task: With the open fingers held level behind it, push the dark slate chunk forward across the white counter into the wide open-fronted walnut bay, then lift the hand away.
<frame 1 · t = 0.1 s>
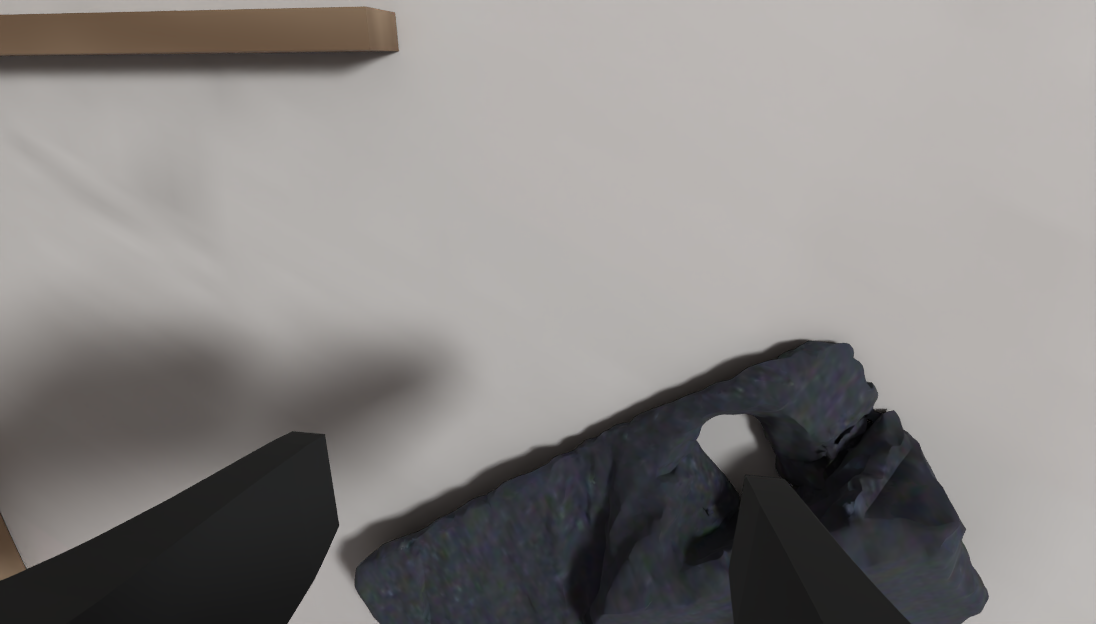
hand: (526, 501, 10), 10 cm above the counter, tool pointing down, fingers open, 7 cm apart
walnut bay: (204, 527, 26), on the counter
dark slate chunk: (641, 559, 24), on the counter
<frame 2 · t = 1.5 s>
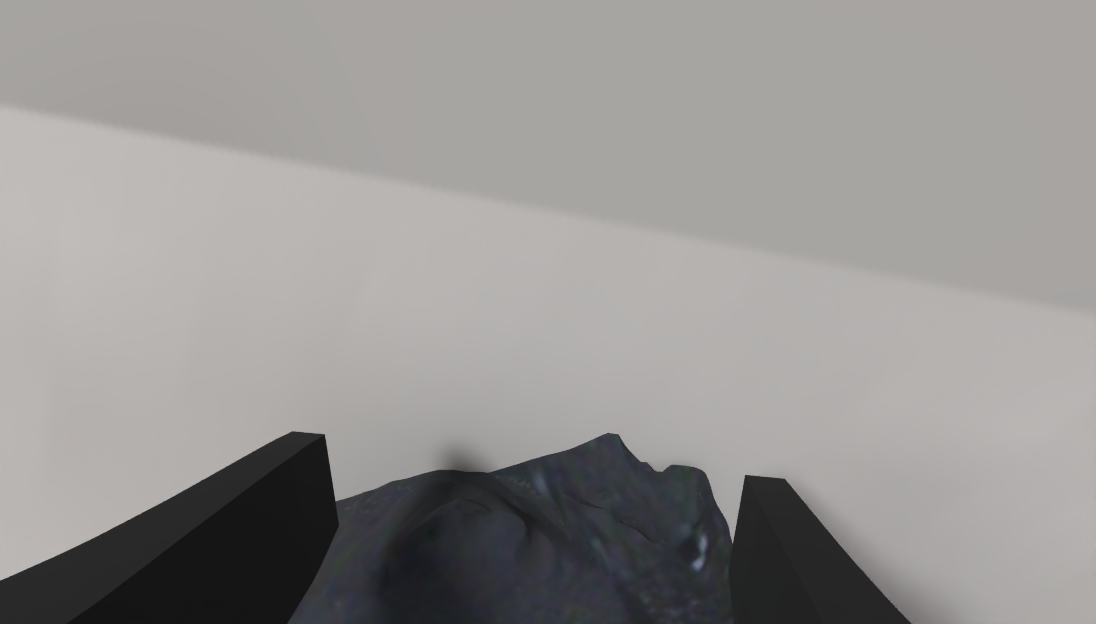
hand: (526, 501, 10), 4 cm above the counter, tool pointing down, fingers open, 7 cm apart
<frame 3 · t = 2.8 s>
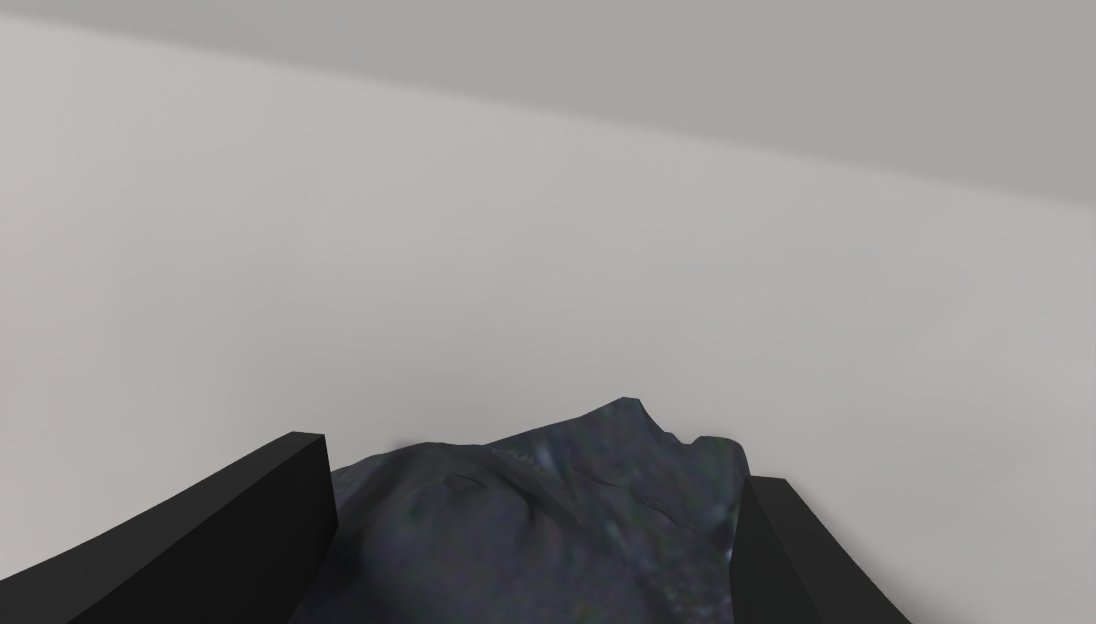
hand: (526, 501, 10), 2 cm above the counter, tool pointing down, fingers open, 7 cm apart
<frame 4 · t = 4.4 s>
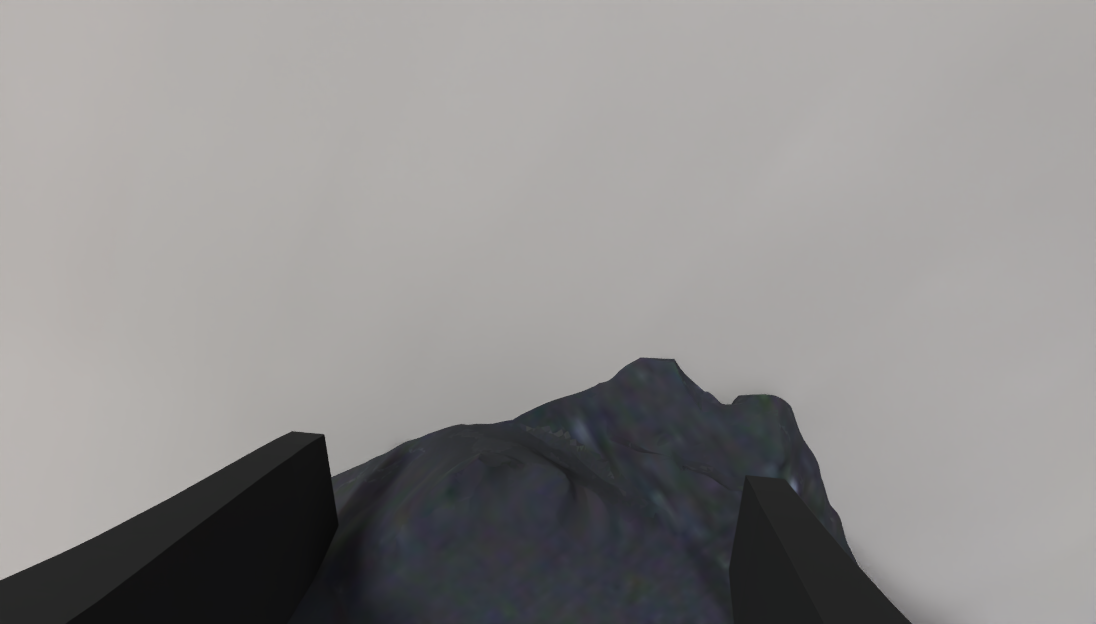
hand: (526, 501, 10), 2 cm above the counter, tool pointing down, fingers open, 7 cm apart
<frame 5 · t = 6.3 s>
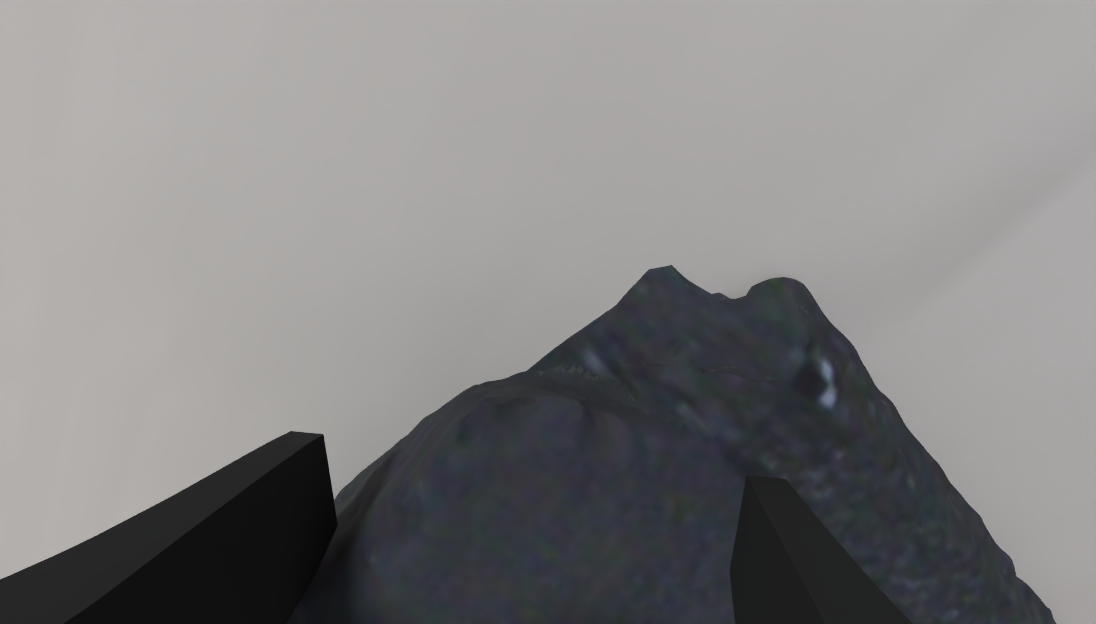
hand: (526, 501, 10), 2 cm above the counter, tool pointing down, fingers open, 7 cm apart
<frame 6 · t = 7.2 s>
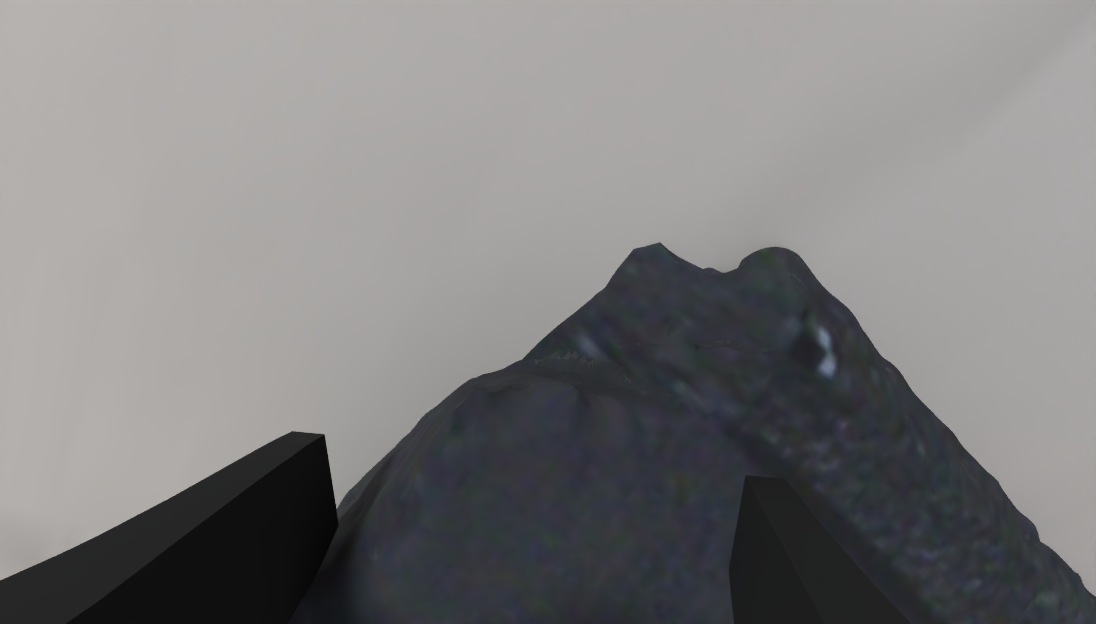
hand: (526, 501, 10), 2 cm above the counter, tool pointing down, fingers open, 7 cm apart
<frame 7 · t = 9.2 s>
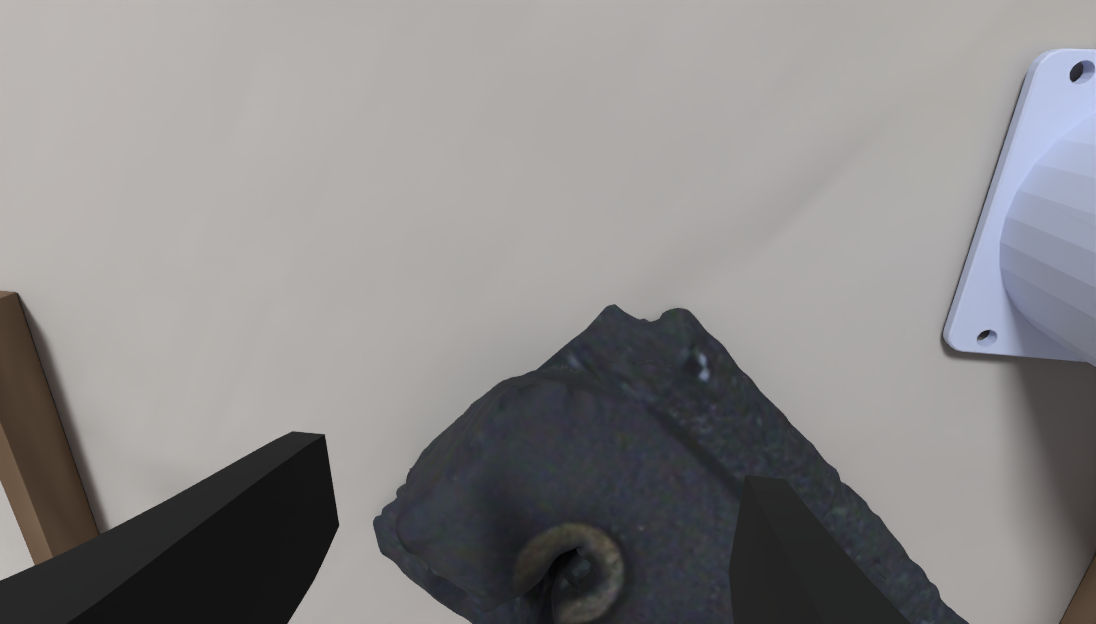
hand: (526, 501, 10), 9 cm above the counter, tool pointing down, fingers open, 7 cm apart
walnut bay: (529, 586, 24), on the counter
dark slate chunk: (678, 573, 23), on the counter
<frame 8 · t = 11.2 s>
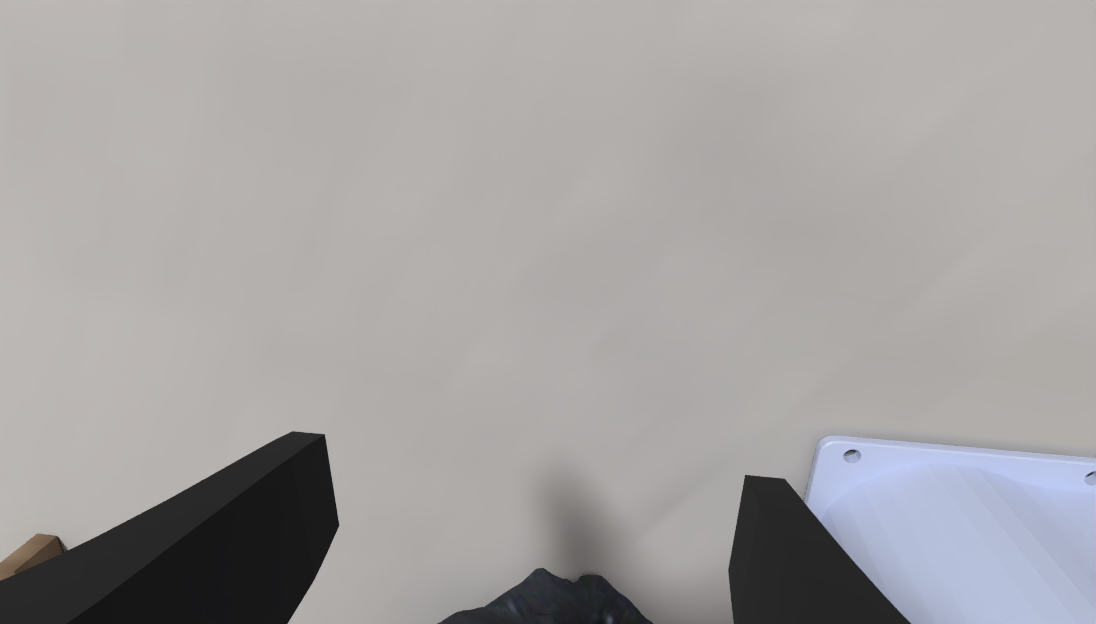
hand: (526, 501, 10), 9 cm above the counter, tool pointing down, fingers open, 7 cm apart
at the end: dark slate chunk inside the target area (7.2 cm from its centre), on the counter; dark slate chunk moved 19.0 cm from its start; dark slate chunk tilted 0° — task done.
